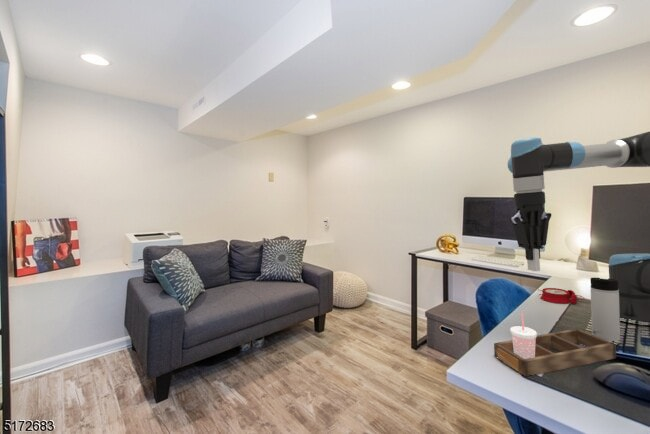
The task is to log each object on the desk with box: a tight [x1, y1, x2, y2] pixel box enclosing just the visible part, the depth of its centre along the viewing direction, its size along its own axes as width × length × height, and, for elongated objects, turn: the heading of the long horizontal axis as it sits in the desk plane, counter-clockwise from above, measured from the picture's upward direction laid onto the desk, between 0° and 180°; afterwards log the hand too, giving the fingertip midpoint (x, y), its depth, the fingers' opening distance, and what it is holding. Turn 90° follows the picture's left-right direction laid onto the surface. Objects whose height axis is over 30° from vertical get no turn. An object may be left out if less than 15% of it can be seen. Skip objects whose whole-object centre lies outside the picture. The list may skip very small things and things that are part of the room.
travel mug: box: [590, 277, 621, 341], centre depth 89 cm, size 6×7×20 cm
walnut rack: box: [493, 328, 617, 377], centre depth 83 cm, size 30×10×4 cm, turn 101°
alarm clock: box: [537, 287, 585, 305], centre depth 125 cm, size 10×6×15 cm
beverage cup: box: [509, 312, 538, 359], centre depth 81 cm, size 6×6×14 cm
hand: (533, 270), depth 87 cm, fingers closed
